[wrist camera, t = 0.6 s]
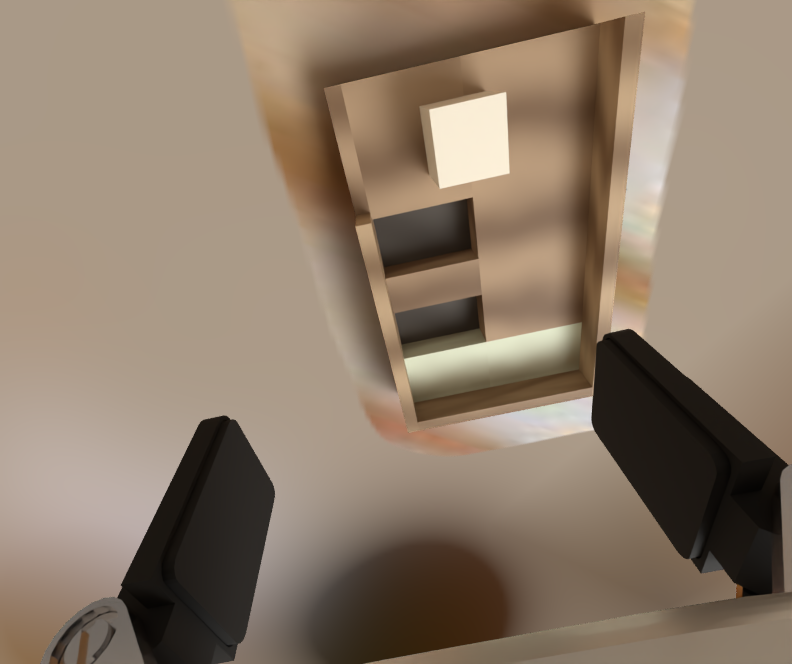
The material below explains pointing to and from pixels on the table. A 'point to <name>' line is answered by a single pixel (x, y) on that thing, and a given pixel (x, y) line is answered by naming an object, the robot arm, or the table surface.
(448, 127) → the ivory block
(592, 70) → the box
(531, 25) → the table surface
